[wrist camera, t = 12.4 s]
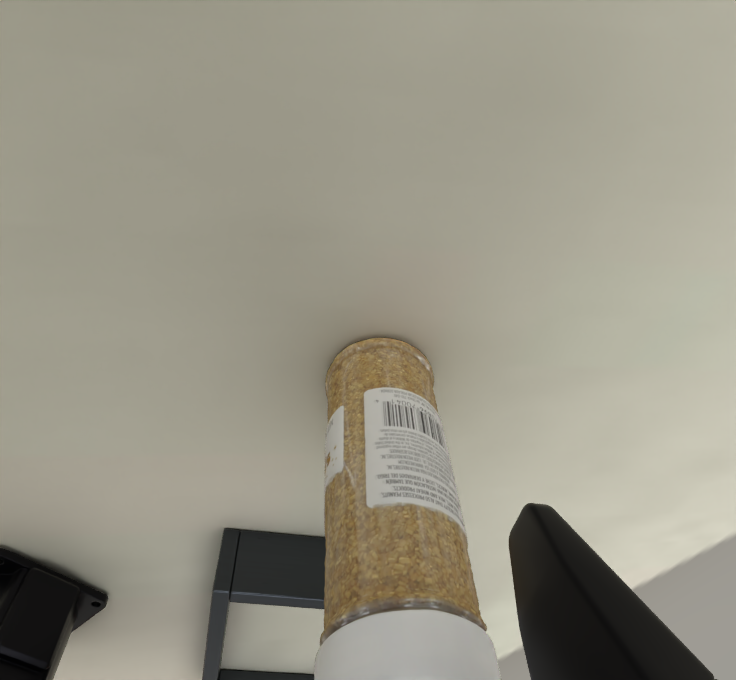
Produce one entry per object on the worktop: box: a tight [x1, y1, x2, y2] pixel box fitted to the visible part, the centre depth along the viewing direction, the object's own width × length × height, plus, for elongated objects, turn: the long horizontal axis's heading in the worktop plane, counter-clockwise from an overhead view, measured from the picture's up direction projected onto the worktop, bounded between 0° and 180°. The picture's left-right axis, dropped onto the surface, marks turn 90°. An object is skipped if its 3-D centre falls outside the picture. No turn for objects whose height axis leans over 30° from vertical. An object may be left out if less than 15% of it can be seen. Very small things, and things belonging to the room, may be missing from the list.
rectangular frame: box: [202, 528, 326, 680], centre depth 33 cm, size 12×15×4 cm
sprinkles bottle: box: [314, 338, 501, 680], centre depth 19 cm, size 5×5×14 cm
